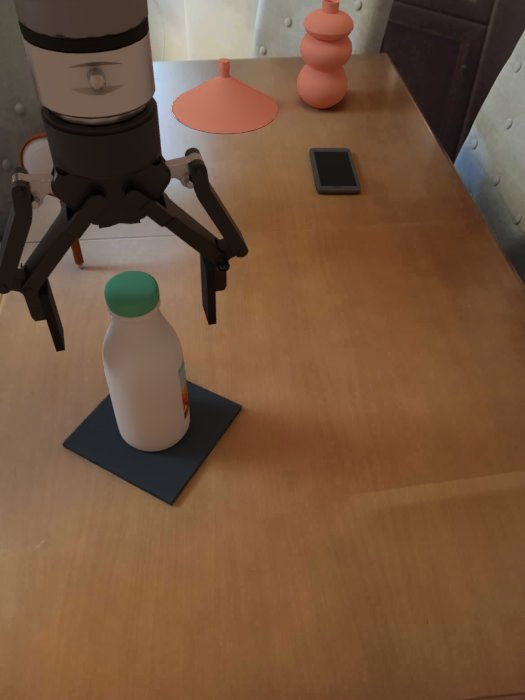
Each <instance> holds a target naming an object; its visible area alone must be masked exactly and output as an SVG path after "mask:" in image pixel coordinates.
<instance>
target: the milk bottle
mask: <svg viewBox="0 0 525 700" xmlns="http://www.w3.org/2000/svg"><path fill="white" fill-rule="evenodd" d="M103 295H104V300H105V303H106V308H107V312H108V313H109V315H110V316H111V317H110V322H109V325H108V328H107V329H106V332H105V334H104V338H103V343H102V352H101V354H102V365H103V370H104V375H105V379H106V380H105V381H106V384H107V389H108V394H109V393H110V397H111V401H112V405H113V409H114V413H115V417H116V420H117V424H118V428H119V431H120V434H121V436H122V437H123V439H124V440H125V441H126V442H127V443H128V444H129V445H131V446H132V447H134V448H137V449H139V450H143V451H151V452H153V451H160V450H164V449H167V448H169V447H171V446H173V445H174V444H176V443H177V442H178V441H179V440H181V439H182V437H183V436H184V435H185V433H186V431H187V429H188V427H189V423H190V412H189V402H188V392H187V382H186V380H187V375H186V374H187V373H186V365H185V357H184V352H183V351H184V350H183V347H182V344H181V340H180V337H179V336H178V334H177V332H176V329H175V328H174V326H173V325H172V324H171V322H170V321H168V319H167V318H166V317H165V316H164V315H163V313H162V311H161V309H160V307H161V298H160V288H159V284H158V282H157V280H156V278H155V277H154V276H153V275H152V274H150V273H148V272H145V271H141V270H127V271H122V272H120V273H116V274H115V275H113V276H112V277H111V278H109V280H108V281H107V282H106V284H105V286H104V291H103Z"/></svg>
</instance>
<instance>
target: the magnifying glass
mask: <svg viewBox="0 0 525 700" xmlns="http://www.w3.org/2000/svg"><path fill="white" fill-rule="evenodd" d="M19 164H20V167H23V168H25V169H26V170H27V171H28V173H29V174H51V172H52V170H53V161H52V157H51V153H50V149H49V145H48V141H47V137H46V132H39V133H35V134H33V135H31V136H29V137H28V138H27V139H26V140H25V141H24V142H23V144H22V146H21V147H20V151H19ZM46 196H49V197H52V198H56V199H58V198H57V197H56V196H55V195H54V194H53V193H49V194H47V195H46ZM59 205H60V208H61V207H62V205H63V202H62V201H61V200H59ZM70 249H71V252H72V256H73V260H74V263H75V265H76V266H77V268H78V269H82V268H84V263H85V260H84V255H83V251H82V247H81V244H80V239H76V240H75V241H74V243H73V244H72V245H71V247H70Z"/></svg>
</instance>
